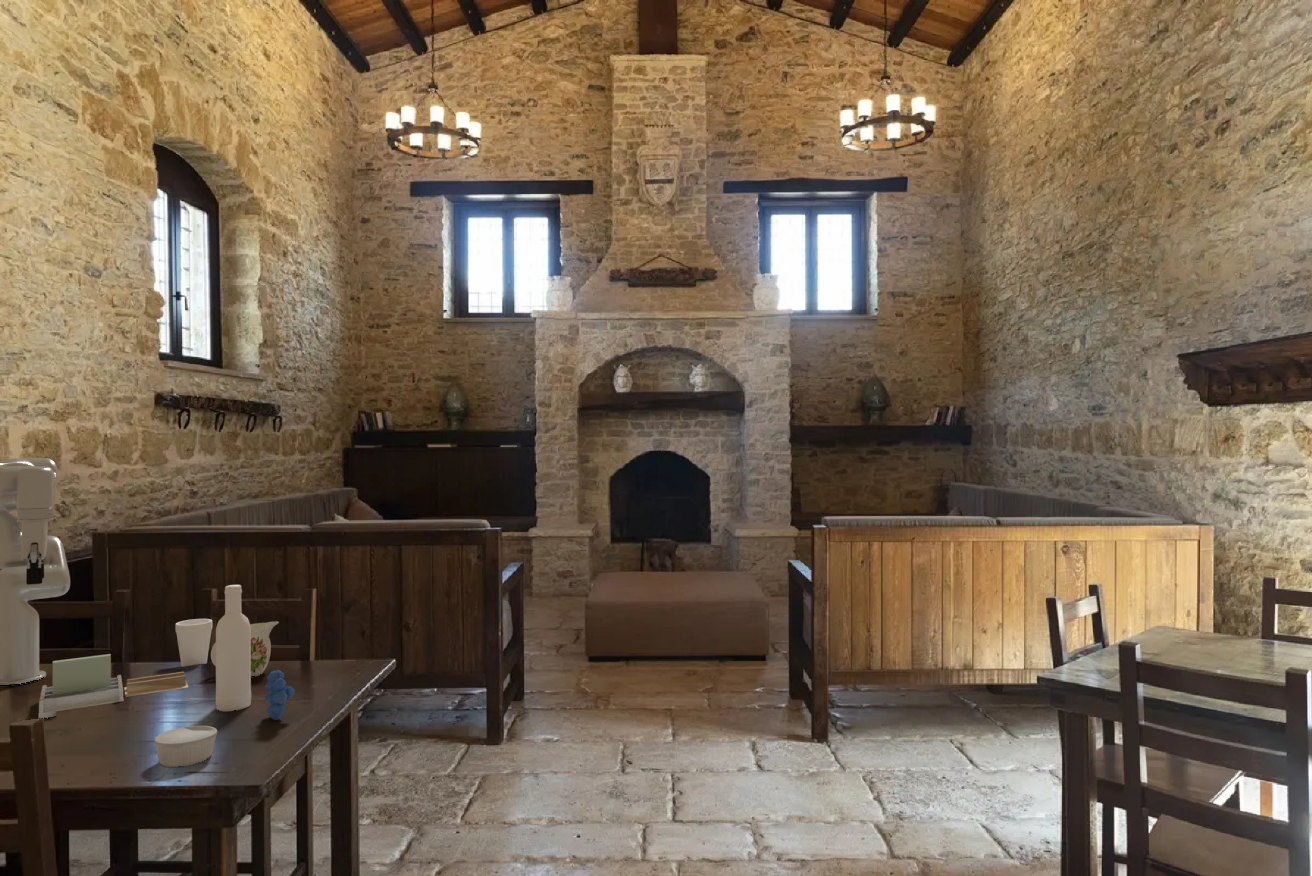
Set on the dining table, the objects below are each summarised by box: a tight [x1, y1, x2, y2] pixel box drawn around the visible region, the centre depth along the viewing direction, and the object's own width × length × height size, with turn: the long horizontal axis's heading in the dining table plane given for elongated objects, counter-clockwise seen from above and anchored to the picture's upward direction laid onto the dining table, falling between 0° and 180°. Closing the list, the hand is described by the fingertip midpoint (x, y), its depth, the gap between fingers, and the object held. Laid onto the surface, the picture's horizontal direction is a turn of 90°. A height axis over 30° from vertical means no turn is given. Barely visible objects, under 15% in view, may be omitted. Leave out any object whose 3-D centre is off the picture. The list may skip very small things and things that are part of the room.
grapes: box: [264, 669, 296, 721], centre depth 196 cm, size 12×7×12 cm, turn 36°
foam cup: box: [175, 618, 213, 668], centre depth 244 cm, size 10×9×13 cm
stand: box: [123, 671, 189, 698], centre depth 217 cm, size 10×14×4 cm
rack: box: [38, 674, 125, 720], centre depth 208 cm, size 18×17×4 cm
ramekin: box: [153, 725, 218, 768], centre depth 171 cm, size 11×11×5 cm
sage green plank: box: [52, 653, 112, 694], centre depth 208 cm, size 2×12×10 cm, turn 125°
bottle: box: [215, 584, 252, 712], centre depth 205 cm, size 8×8×30 cm
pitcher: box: [210, 621, 280, 677], centre depth 234 cm, size 11×18×14 cm, turn 134°
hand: (35, 581), depth 213 cm, fingers open, 9 cm apart
